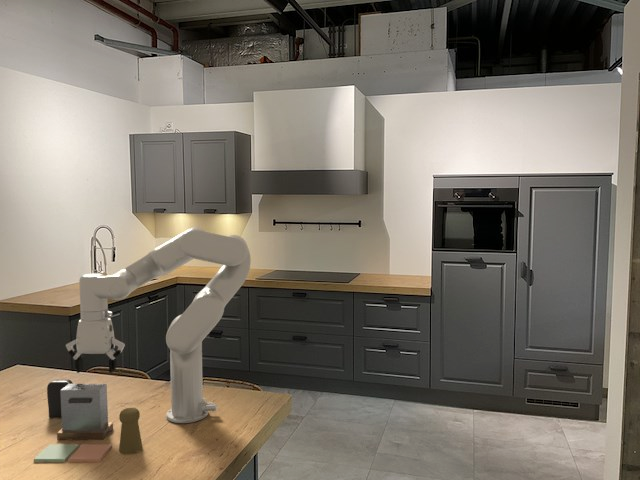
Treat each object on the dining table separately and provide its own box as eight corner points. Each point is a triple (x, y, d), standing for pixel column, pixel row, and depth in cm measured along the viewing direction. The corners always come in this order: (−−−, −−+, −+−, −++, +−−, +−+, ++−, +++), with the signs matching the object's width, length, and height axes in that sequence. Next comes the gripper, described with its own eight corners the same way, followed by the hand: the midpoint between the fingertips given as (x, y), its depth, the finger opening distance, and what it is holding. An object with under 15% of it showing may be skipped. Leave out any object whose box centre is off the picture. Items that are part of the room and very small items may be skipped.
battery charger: (75, 413, 170) (74, 377, 169) (70, 418, 166) (69, 382, 165) (53, 413, 170) (51, 378, 169) (47, 418, 166) (45, 382, 165)
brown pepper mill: (114, 448, 146) (113, 409, 145) (136, 441, 150) (134, 403, 149) (124, 456, 142) (123, 416, 141) (146, 448, 146) (145, 409, 145)
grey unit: (113, 428, 158) (111, 382, 157) (103, 439, 151) (101, 391, 150) (68, 429, 158) (66, 382, 157) (57, 439, 151) (55, 391, 150)
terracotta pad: (111, 447, 147) (111, 444, 147) (99, 461, 139) (99, 458, 139) (82, 447, 147) (82, 444, 147) (68, 461, 139) (68, 458, 139)
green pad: (78, 447, 147) (78, 444, 147) (64, 461, 139) (64, 458, 139) (49, 447, 147) (49, 444, 147) (33, 462, 139) (33, 459, 139)
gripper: (127, 312, 165) (129, 367, 166) (71, 312, 165) (73, 367, 166) (118, 318, 157) (120, 375, 159) (59, 318, 157) (61, 375, 159)
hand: (96, 371), depth 163 cm, fingers open, 9 cm apart
